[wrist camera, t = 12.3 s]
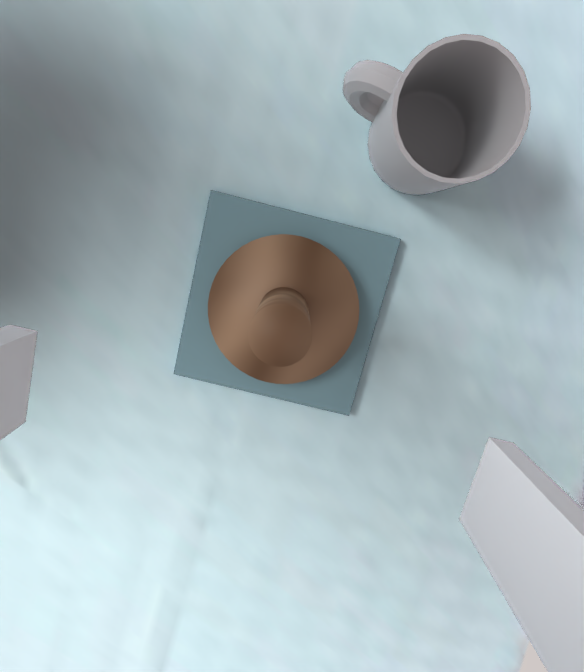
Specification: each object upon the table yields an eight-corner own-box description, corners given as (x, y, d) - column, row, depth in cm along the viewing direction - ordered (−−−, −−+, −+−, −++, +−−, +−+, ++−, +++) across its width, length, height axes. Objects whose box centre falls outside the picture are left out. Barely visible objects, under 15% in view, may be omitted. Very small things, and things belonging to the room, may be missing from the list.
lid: (197, 361, 36) (166, 404, 27) (226, 217, 34) (202, 213, 25) (336, 394, 37) (349, 445, 28) (374, 254, 34) (402, 262, 25)
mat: (175, 371, 37) (173, 374, 36) (212, 190, 34) (210, 190, 33) (348, 412, 38) (348, 415, 37) (398, 238, 35) (400, 238, 34)
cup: (434, 214, 34) (482, 208, 26) (313, 146, 33) (319, 116, 25) (488, 119, 33) (558, 79, 24) (363, 45, 32) (389, -24, 23)
